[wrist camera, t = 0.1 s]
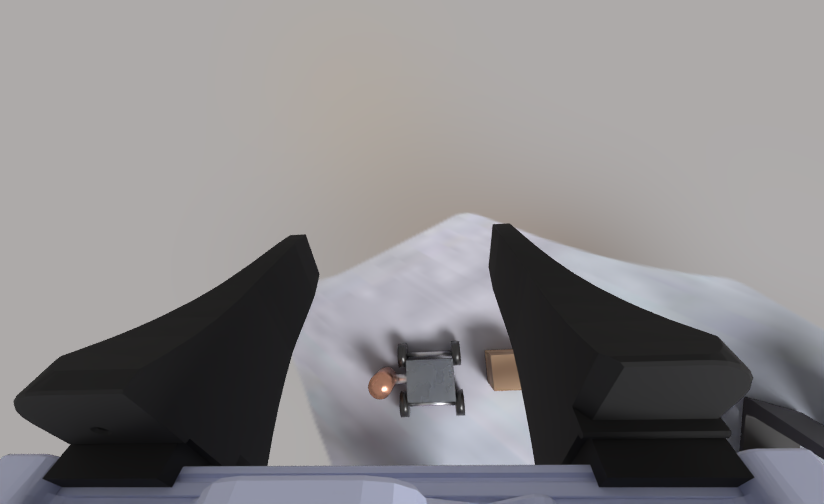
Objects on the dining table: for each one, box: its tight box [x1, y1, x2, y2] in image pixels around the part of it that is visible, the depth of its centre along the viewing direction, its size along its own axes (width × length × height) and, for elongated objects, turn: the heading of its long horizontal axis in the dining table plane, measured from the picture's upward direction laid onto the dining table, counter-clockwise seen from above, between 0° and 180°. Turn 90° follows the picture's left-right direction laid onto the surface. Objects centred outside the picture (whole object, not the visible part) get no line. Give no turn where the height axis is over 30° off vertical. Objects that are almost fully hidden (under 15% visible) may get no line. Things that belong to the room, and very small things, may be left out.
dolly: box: [398, 341, 465, 417], centre depth 39 cm, size 9×8×3 cm
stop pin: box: [368, 367, 407, 399], centre depth 38 cm, size 3×8×5 cm, turn 93°
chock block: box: [485, 349, 521, 391], centre depth 38 cm, size 4×5×5 cm
